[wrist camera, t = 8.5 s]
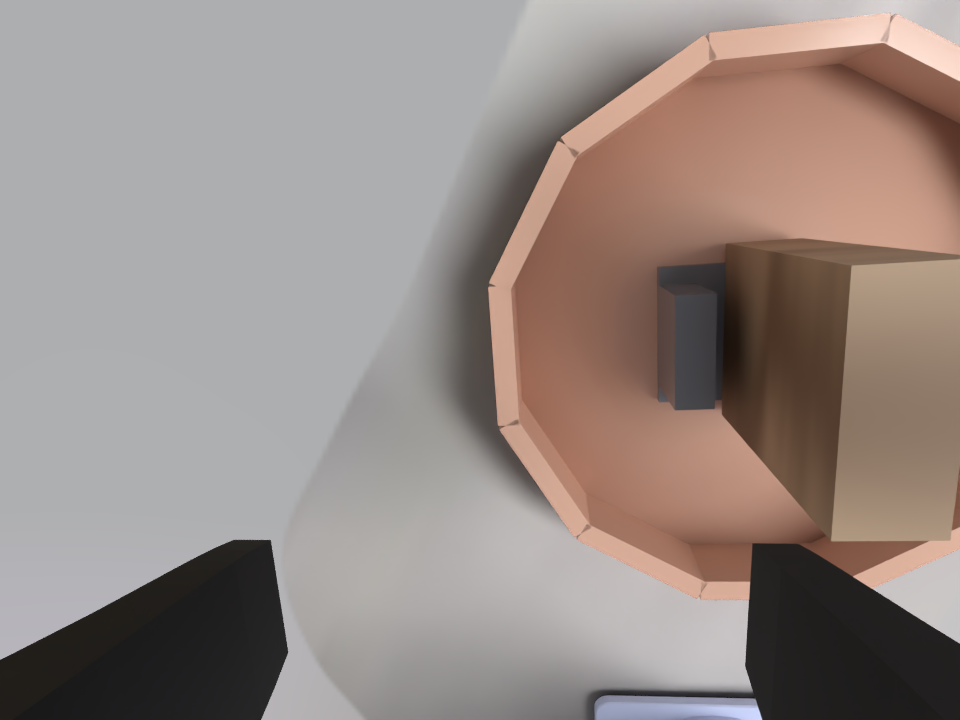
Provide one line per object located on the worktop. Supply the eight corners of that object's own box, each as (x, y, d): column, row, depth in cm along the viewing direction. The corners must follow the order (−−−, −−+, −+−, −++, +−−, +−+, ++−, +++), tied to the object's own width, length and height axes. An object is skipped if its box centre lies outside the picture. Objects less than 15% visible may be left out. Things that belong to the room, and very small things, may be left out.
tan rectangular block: (793, 412, 17) (950, 541, 11) (721, 414, 18) (830, 541, 11) (802, 238, 16) (986, 257, 9) (725, 243, 16) (851, 265, 10)
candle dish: (994, 550, 18) (1078, 613, 16) (514, 553, 20) (509, 609, 17) (1072, 18, 15) (1197, -27, 12) (482, 80, 17) (469, 53, 14)
